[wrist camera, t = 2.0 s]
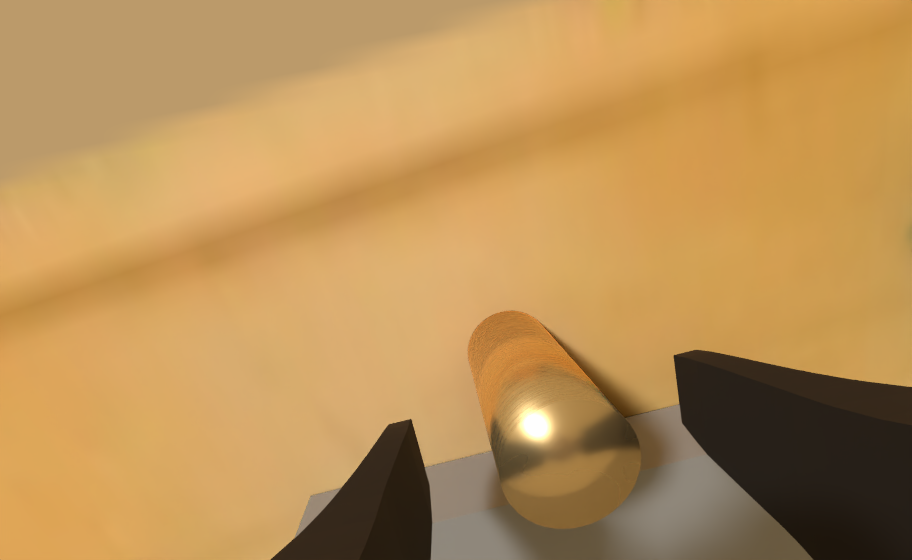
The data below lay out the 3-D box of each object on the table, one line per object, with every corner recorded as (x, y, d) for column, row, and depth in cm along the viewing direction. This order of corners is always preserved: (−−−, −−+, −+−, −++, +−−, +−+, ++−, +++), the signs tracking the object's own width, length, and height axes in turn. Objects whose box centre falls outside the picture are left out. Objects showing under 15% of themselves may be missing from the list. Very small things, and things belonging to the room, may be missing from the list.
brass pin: (477, 398, 16) (514, 543, 10) (459, 321, 16) (485, 420, 9) (556, 378, 16) (649, 509, 10) (542, 301, 16) (630, 384, 9)
